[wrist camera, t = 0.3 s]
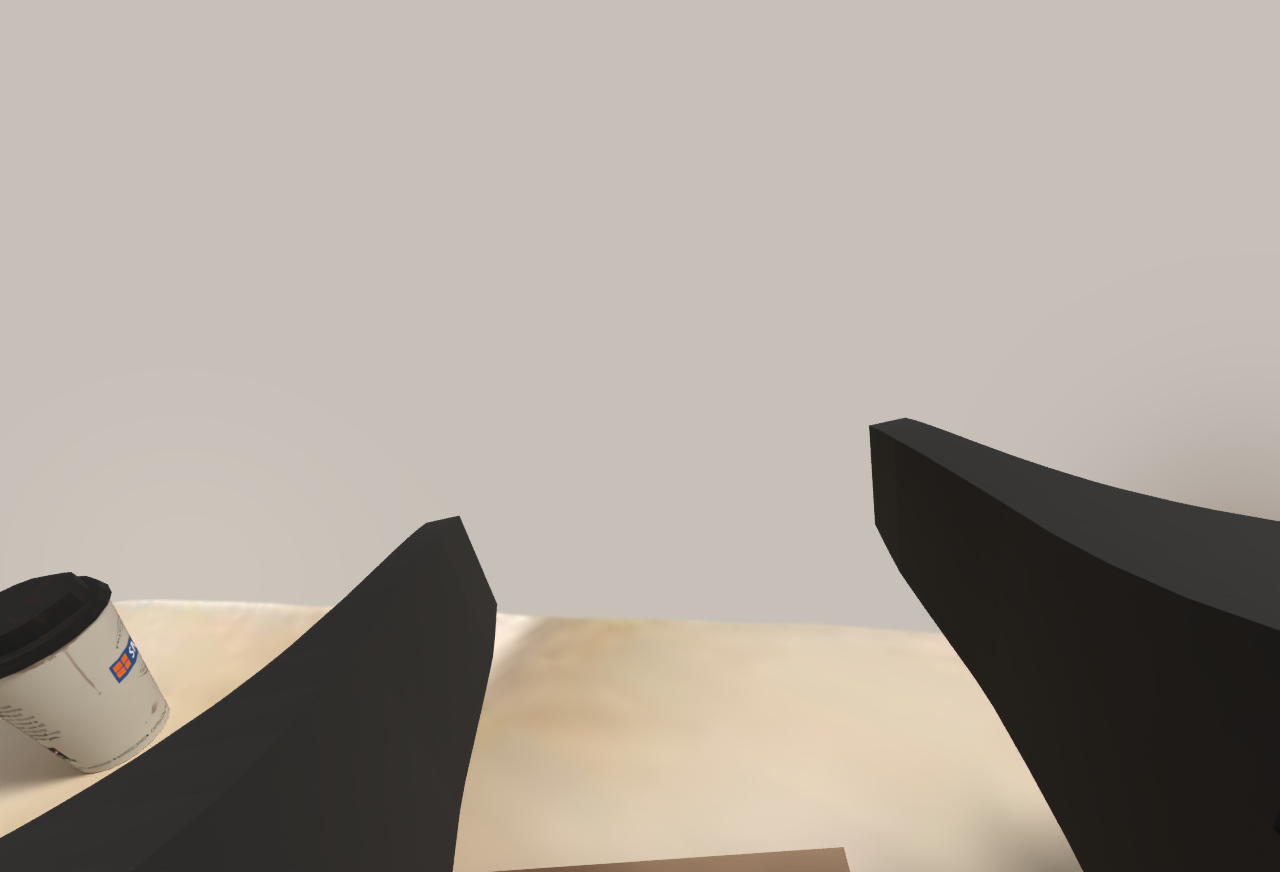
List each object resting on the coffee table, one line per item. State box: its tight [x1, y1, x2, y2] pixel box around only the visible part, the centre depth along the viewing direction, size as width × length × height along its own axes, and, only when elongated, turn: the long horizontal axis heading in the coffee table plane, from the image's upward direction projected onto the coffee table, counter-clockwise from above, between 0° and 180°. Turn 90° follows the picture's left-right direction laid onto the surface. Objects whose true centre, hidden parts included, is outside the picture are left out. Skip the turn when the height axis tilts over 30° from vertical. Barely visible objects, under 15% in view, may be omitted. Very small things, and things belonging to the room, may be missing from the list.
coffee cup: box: [0, 572, 170, 773], centre depth 33 cm, size 7×7×10 cm
